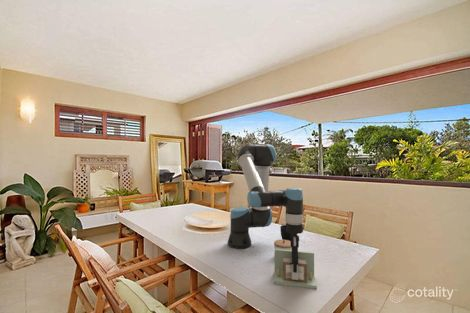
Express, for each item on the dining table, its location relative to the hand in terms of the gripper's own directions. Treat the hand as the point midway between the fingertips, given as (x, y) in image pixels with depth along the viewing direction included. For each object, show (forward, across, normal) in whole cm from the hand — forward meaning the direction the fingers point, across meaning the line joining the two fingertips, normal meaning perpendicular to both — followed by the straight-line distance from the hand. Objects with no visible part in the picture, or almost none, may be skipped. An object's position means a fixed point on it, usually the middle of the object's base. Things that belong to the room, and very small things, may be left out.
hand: (294, 276), depth 101 cm
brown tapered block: (+2, 0, 0) cm, 2 cm away
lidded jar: (+2, +27, +5) cm, 27 cm away
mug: (+1, +52, +2) cm, 52 cm away
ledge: (+3, +2, 0) cm, 4 cm away
